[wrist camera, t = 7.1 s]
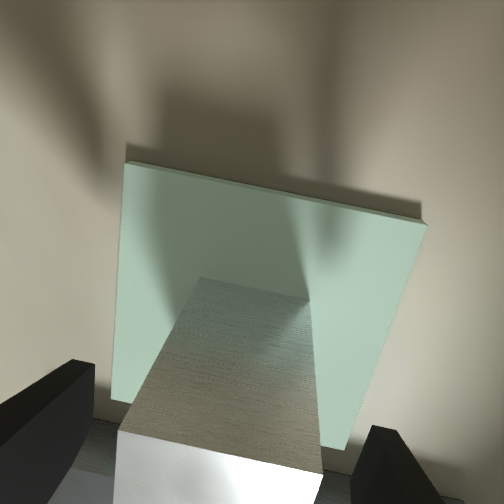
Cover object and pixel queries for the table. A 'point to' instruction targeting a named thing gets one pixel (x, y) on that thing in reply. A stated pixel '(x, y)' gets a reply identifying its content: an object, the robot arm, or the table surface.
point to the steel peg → (226, 406)
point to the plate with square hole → (103, 474)
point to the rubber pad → (260, 273)
